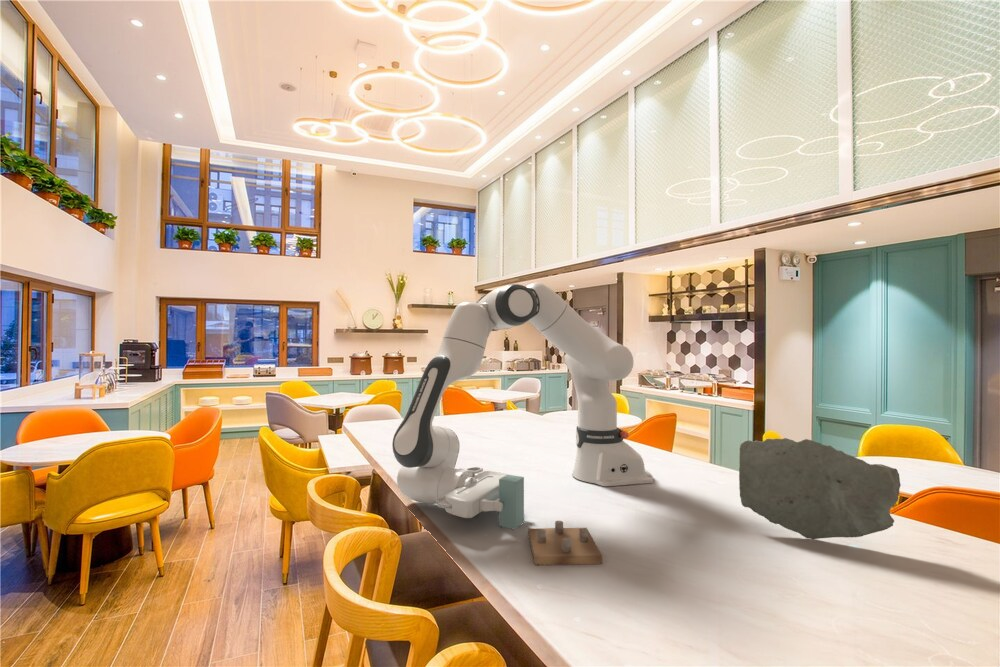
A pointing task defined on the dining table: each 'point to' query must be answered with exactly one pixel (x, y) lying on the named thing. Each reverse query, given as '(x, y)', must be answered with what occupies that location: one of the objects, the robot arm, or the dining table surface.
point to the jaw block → (511, 501)
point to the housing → (563, 546)
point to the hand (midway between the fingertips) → (513, 499)
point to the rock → (816, 488)
